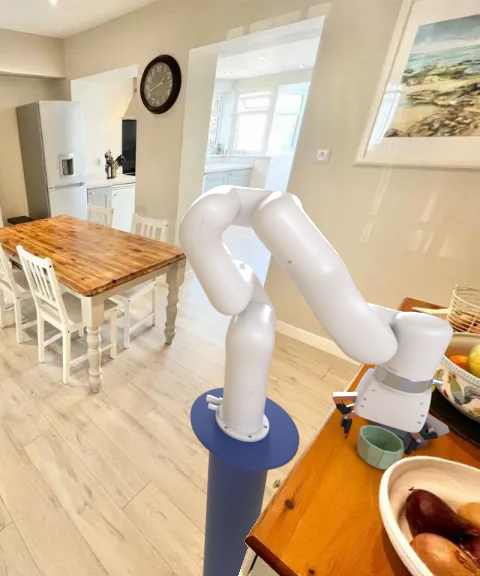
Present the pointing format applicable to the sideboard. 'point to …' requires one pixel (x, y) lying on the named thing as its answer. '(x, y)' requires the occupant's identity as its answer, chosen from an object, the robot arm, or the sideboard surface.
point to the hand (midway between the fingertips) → (374, 439)
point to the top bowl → (379, 446)
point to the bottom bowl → (400, 431)
